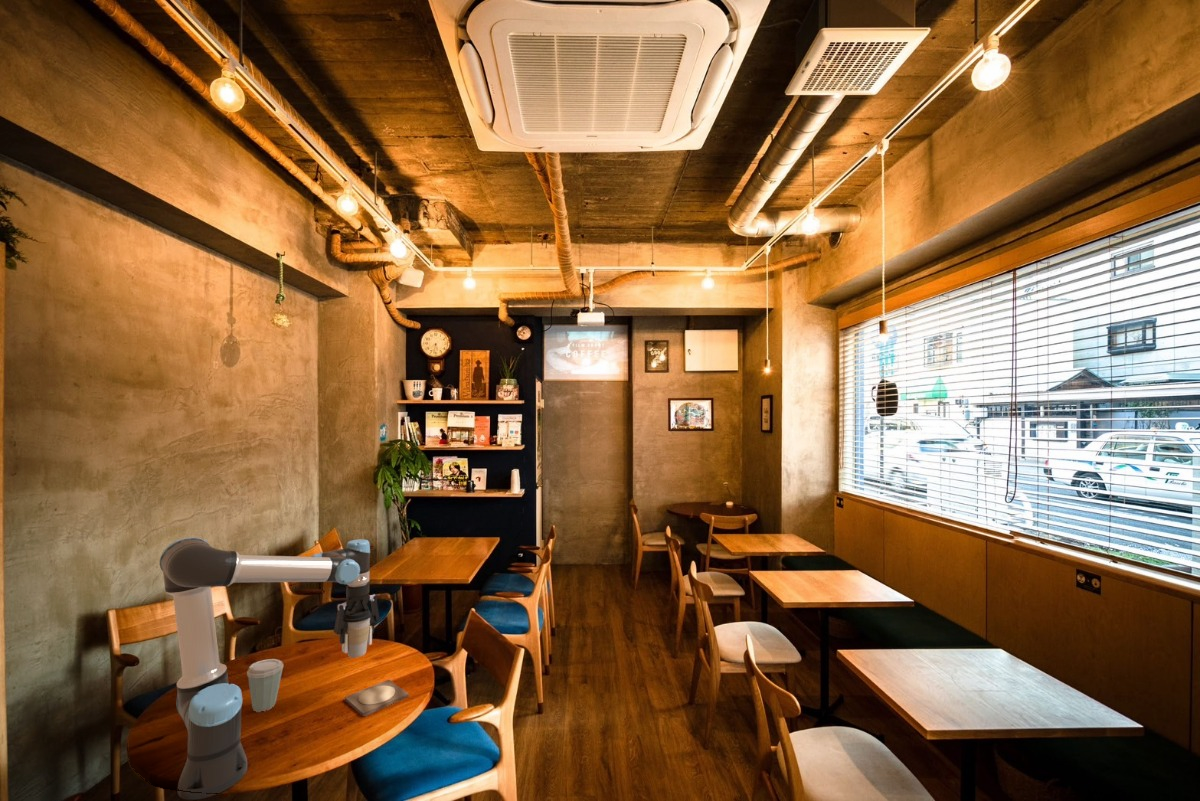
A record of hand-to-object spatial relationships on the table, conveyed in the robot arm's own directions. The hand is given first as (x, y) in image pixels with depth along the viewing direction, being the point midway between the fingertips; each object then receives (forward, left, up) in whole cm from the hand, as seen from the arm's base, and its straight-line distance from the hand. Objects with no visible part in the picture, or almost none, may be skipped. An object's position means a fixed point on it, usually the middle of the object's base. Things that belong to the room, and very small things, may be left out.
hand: (357, 647), depth 179 cm
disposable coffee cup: (-24, +17, -18) cm, 34 cm away
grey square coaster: (+4, -7, -18) cm, 19 cm away
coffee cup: (0, 0, -2) cm, 2 cm away
